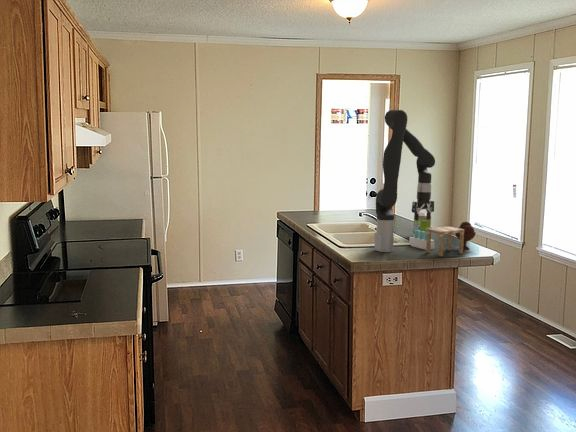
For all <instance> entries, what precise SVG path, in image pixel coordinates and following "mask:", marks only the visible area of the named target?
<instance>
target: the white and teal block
mask: <svg viewBox="0 0 576 432" xmlns="http://www.w3.org/2000/svg"><path fill="white" fill-rule="evenodd" d="M408 239H409V240H408V241H409V242H408V246H409V245H411V246H410V247H414V248H418V249H420V250H421V249H422V250H425V251H426V247H427V232H425V231H420V230H414V237H413V236H409V238H408ZM434 249H435V239H431V248H430V250H434Z"/></svg>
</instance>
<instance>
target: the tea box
mask: <svg viewBox="0 0 576 432" xmlns="http://www.w3.org/2000/svg"><path fill="white" fill-rule="evenodd" d="M418 214H419V217H418V220H415V219H414V218H413V227H412V228H413V230H412V235H413V236H412V237H414V230H420V231H425V232H427V229H428V228H432V217H431V218H430V220H427V219H426V216H427V212H419V213H418ZM413 215H415V214H413Z"/></svg>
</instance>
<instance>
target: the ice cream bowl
mask: <svg viewBox="0 0 576 432" xmlns="http://www.w3.org/2000/svg"><path fill="white" fill-rule="evenodd" d="M458 228H460V229H464V244H463V251H464V250H465V251H466V250H468V251H469V250H470V247H468V246H467V242H470V241H471V240H473V239H474V238H475V236H476V232H475V229H474V227H473V226H472V224H471V223H470V222H468V221H462V222H461V223H460V225H459V226H458ZM454 235H455V236H456V238H457V240H459V241H460V233H454Z"/></svg>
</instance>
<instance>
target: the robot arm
mask: <svg viewBox="0 0 576 432" xmlns="http://www.w3.org/2000/svg"><path fill="white" fill-rule="evenodd" d="M384 123H385V124H386V125H387V126H388V127H389V129H391V130H392V133H391V137H390V140H389V142H388V144H387V145H386V147H385V149H384V151H383V156H382V157H383V159H382V172H383V176H384V179H383V180H384V181H383V182H384V183H383V188H382V189H380V190H379V191H378V192H377V193H376V195H375V196H376V197H375V214H376V232H375V233H374V249H373V250H374V251H376V252H378V253H379V252H380V253H391V252H393V251H394V235H395V213H394V211H393V207H394V206H395V205H396V203H397V201H398V183H399V180H398V179H399V174H400V168H401V167H400V166H401V161H402V160H401V159H402V151H403V145H404V144H405V145H406V147H407V148H408V150H409V152H411V154H412V155H413V156H414V157H417V158H416V162H415V163H416V169H417V174H418V177H417V178H418V180H417V186H416V188H417V190H416V201H412V204H411V212H412V213H414V214H415V215H414V214H413V215H414V216H413V220H414V219H415V220H418V217H419V214H418V213H421V211H422V210H425V211H426V213H427V216H426V219H427V220H430V218H431V219H432V213H433V212H435V201H434V200H431V199H432V173H431V172H430V171H428V169H430V168H434V166H435V165H436V158H435V157H434V155H433V154H432V153H431V151H429V150H428V149H427V148H425V147H424V145H423V143H422V142H421V141H420V139H419V138H418V137H417V136H416V135H414V134H413V133H412V132H411V131H410V130H409V129H408V128H407V125H408V114H407V112H406V111H405V110H402V109H391V110H388V111H387V112H386V113H385V115H384Z"/></svg>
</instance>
